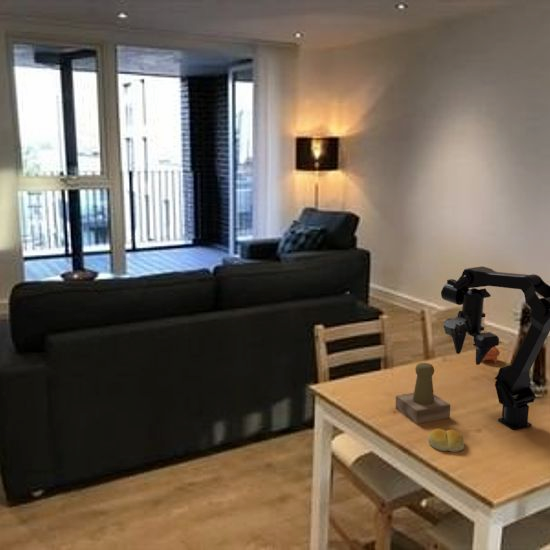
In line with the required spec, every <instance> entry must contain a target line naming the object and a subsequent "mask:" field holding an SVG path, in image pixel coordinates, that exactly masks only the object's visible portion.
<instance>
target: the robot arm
mask: <svg viewBox="0 0 550 550" xmlns="http://www.w3.org/2000/svg"><path fill="white" fill-rule="evenodd" d="M481 287H497V288H506V289H514V290H520V291H522V292H523V294H524V299H525V303H526V305H528V307H529V308H530V313H529V317H530V319H529V320H530V326H529V328H528V330H527V332H526V334H525V336H524V338H523V340H522V342H521V343H520V346H519V347H518V350H517V352H516V354H515V356H514V358H513V360H512V362H511V364H510V365H506V366H502V367H500V368H499V370H498V372H497V375H496V376H495V377H494V380H495V381H494V387H495V391H496V394H497V399H498V402H499V404H501V405H502V411H501V417H498V418H497V421H498V422H500V423H501V424H503V425H504V426H506V427H508V428H509V429H511V430H515V431H516V430H520V429H525V428H528V427H529V428H530V427H532V426H533V424H532V423H531V422H529V410H530V406H529V405H528V404H532V403H534V401H535V400H536V398H537V396H536V394H535V393H534V391H533V390H532V387H530V386H531V385H530V382H531V376H530V371H531V368H532V367H533V364H534V363H535V361H536V359H537V357H538V355H539V354H540V352H541V350H542V348H543V345H544V344H545V341H546V339H547V338H548V336H549V334H550V285H549V284H548V283H546V282H545V281H544V279H542V277H541V276H539V275H537V274H525V273H513V272H501V271H500V272H499V271H496V270H493V269H492V268H490V267H486V266H475V267H467V268H464V269H463V271H462V273H461V276H459V278H458V279H457V280H456V279H454V278H451V279H447V280H446V284H444V286H443V287H442V289H441V291H440V295H441V298H442V299H443V300H444V301H446V302H449V303H453V304H455V305H457V306H462V308H461V310H459V311H458V312H457V315H456V317H452V318H446V319H445V320H444V321H443V324H442V327H443V328H444V333H445V334H446V335H448V336H450V337H451V338H452V340H453V346H454V349H455V352H456V355H459V354H460V355H461V352H462V351H463V346H464V342H465V339H466V337H467V335H469V336H471V337H473V343H472V346H473V347H474V348H475V365H476V366H478V365H479V366H480V364H481V363H482V362H483V360H485V359H484V357H485V356H486V354H487V353H488V352H489V350H490V349H491V348H492V347H496V346H499V344H500V338H499V336H498V335H496V334H494V333H492V332H489V331H487V332H482V331H485V326H483V325H482V320H483V318H486V313H484V312H483V311H484V302H485V301H484V300H485V299H487V298H490V297H492V296H491V293H490V292H488V290H487V288H481ZM478 288H480V289H478ZM538 294H539V295H540V296H541V298H540V297H539V296H538Z"/></svg>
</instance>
